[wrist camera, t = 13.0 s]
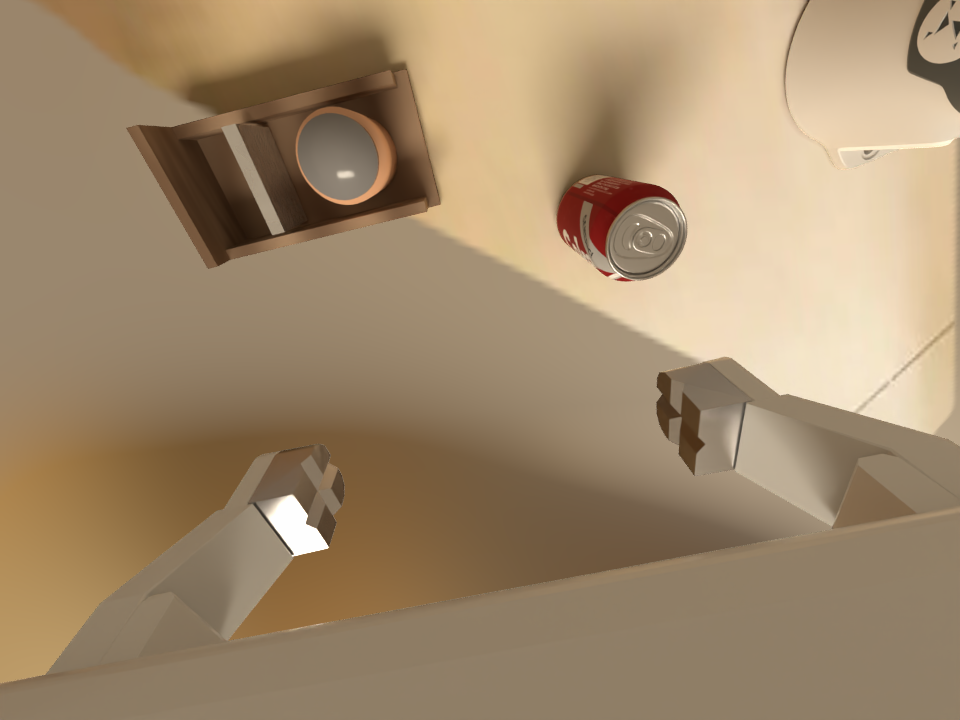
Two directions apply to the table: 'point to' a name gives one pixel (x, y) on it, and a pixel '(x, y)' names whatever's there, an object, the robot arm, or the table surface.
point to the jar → (345, 155)
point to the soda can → (622, 226)
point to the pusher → (266, 176)
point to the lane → (228, 198)
